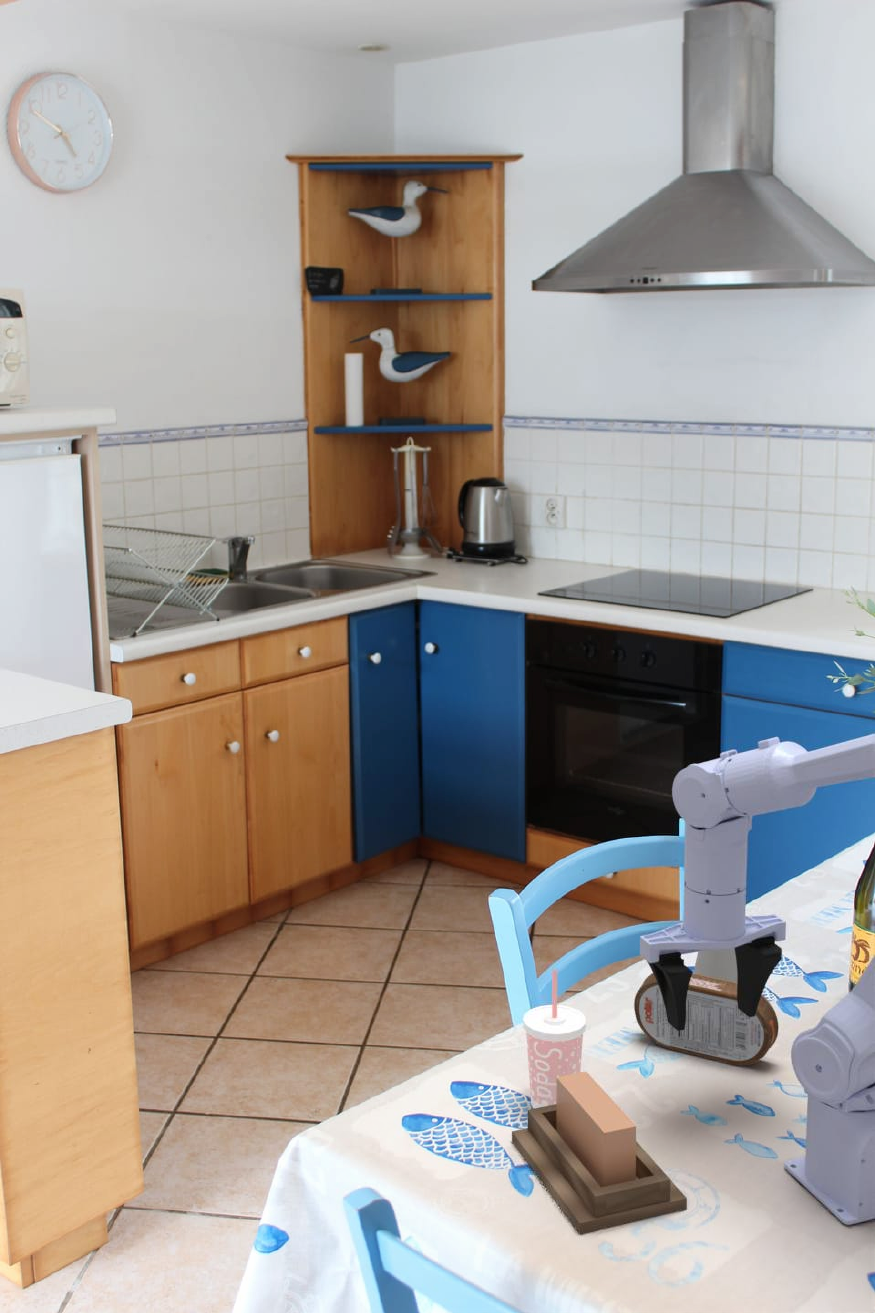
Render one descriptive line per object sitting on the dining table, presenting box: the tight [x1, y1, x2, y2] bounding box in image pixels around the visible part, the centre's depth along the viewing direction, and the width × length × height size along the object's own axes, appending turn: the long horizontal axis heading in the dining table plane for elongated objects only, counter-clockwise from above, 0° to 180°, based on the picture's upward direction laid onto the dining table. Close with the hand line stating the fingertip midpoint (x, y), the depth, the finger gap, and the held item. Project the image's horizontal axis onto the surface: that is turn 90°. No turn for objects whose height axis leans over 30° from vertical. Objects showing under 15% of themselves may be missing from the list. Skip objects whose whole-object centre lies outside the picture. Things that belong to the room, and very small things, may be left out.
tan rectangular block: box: [556, 1071, 637, 1187], centre depth 121 cm, size 10×3×6 cm, turn 19°
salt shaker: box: [693, 948, 737, 983], centre depth 156 cm, size 6×6×13 cm
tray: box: [511, 1104, 688, 1235], centre depth 121 cm, size 15×10×3 cm, turn 19°
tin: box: [633, 972, 779, 1067], centre depth 142 cm, size 15×3×8 cm, turn 60°
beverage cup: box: [522, 969, 587, 1109], centre depth 132 cm, size 6×6×14 cm
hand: (711, 1019), depth 130 cm, fingers open, 7 cm apart
